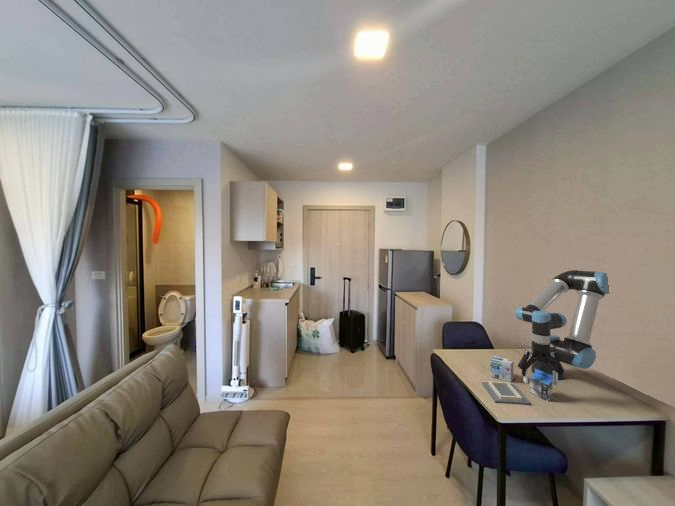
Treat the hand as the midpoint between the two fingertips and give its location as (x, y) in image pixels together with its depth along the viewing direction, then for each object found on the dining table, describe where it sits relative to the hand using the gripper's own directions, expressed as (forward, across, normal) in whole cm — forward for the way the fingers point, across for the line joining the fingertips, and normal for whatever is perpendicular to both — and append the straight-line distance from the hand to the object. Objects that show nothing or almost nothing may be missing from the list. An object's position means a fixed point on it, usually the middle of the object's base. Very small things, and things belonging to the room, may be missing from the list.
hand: (540, 383), depth 137 cm
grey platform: (+7, +16, 0) cm, 18 cm away
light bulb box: (+7, +10, -18) cm, 22 cm away
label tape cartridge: (+7, 0, 0) cm, 7 cm away
